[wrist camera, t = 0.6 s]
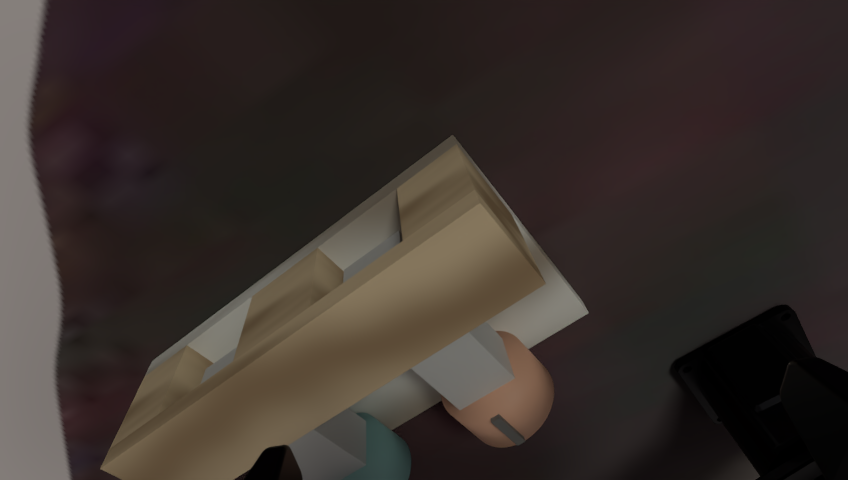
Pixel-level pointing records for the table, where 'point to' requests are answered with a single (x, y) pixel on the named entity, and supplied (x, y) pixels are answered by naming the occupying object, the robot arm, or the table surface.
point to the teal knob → (345, 446)
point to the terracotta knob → (484, 377)
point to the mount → (346, 326)
